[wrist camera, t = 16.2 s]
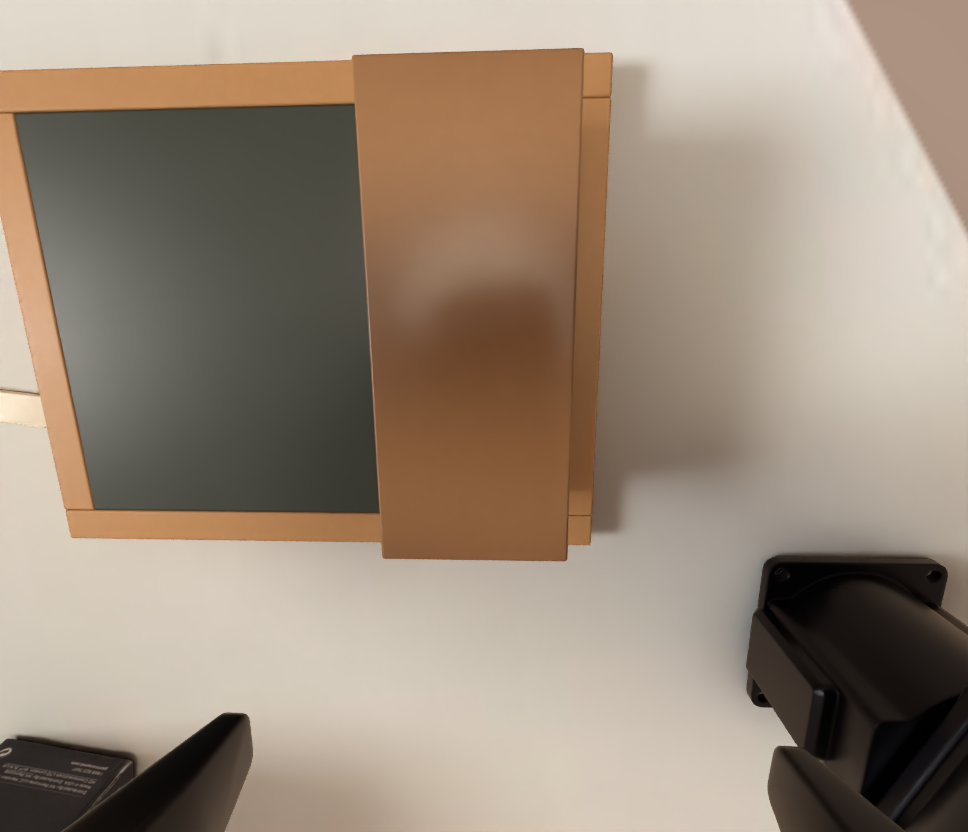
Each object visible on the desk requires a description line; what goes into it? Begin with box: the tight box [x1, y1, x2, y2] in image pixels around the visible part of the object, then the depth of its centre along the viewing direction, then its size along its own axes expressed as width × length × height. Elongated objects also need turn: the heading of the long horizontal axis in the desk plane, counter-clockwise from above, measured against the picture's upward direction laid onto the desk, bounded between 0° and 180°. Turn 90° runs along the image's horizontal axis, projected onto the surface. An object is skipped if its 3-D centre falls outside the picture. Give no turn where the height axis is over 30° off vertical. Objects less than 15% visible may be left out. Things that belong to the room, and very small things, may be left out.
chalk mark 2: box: [0, 390, 47, 427], centre depth 19 cm, size 4×1×1 cm, turn 84°
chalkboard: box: [0, 52, 613, 545], centre depth 17 cm, size 20×16×1 cm
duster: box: [352, 48, 585, 561], centre depth 14 cm, size 12×5×5 cm, turn 0°
